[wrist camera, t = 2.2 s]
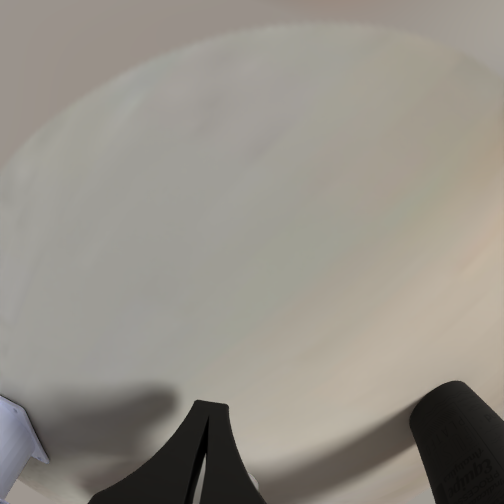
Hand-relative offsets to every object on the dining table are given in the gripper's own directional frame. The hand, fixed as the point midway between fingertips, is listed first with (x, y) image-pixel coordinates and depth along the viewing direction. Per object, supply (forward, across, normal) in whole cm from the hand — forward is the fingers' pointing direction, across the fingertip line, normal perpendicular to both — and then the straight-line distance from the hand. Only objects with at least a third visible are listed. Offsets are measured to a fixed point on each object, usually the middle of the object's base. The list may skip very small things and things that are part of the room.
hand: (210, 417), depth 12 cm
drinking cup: (+4, -15, +2) cm, 16 cm away
